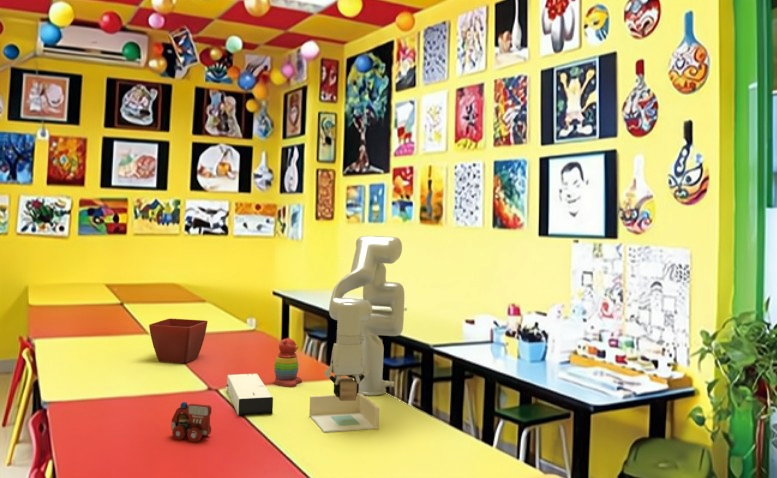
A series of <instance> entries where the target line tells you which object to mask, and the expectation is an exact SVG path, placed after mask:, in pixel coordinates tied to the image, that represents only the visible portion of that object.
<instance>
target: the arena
mask: <svg viewBox="0 0 777 478" xmlns="http://www.w3.org/2000/svg"><path fill="white" fill-rule="evenodd" d="M309 418H311V419H312V421H313V422H314V423H315V424H316V426H318V428H319V429H320V430H321V431H322V433H324V434H325V433H338V432H348V431H349V432H351V431H363V430H365V431H366V430H374V429H375V430H376V429H378V430H379V425H380V407H379V406H378V405H377V404H375V403H374V402H373V401H372V400H370V399H369V397H367V396H366V395H363V394H362V393H357V396H356V401H340V399H339V398H338V397H337V396H335V394H327V395H325V394H324V395H310V396H309Z"/></svg>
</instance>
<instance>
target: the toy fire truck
mask: <svg viewBox="0 0 777 478" xmlns="http://www.w3.org/2000/svg"><path fill="white" fill-rule="evenodd" d="M211 415H212V406H211V405H208V404H200V403H189V404H188V403H187V401H184V402H181V403H180V407H178V408H177V409H176V410H175V412H174V414H173V416H172V418H171V430H172V433H171V435H172V437H173V438H174V439H175V440H177V441H182V440H183V439H185V438H186V436H187V438H188V440H189V441H190V442H191V443H197V442H199V441H201V439H202V436H204V437H207V436H210V434H211V433H212V427H211Z"/></svg>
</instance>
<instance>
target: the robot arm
mask: <svg viewBox="0 0 777 478" xmlns="http://www.w3.org/2000/svg"><path fill="white" fill-rule="evenodd" d="M402 252H403V244H402V240H401V239H400V238H399V237H395V236H379V235H363V236H359V237H358V238H357V239H356V242H355V252H354V255H353V260H352V264H351V269H350V272H349V273H348V274H346V275H345V276H344V277H342V278H341V279H340V280H339V281H338V282H337V284H336V285H335V286H334V287H333V290H332V293H331V297H330V301H329V308H328V313H329V316H330V318H331V319H333V320H335V321H336V322H337V324H336V326H337V327H336V328H337V329H336V343H335V342H334V343H333V346H332V351H331V355H330V356H331V358H330V365H329V367H328V368H327V369H326V370H325V371H324V372H323V374H324V375H325V376H326V377H327V378H328V379H329V380H330V381H331V382H332V383H333V395H335V396H337V397H339V396H340V385H339V381H340V378H342V377H343V376H345V377H346V376H352V377H353V380H354V381H355V382H356V383H357V392H356V396H357V393H362V394H363V395H364V396H368V397H369V396H382V395H384V394H386V392H387V387H389V388H390V387H394V386H395V382H394V381H389V380H384V379H383V372H384V371H383V370H384V369H383V368H384V350H385V348H384V344H383V341H382V340H381V339H380V337H379V336H388V337H398V336H400V335H401V334H402V333H403V330H404V319H405V317H404V315H405V288H404V286H403V284H401V282H394V281H386V279H387V269H386V265H385V264H387V265H388V264H389V265H391V264H394V263H395V262H397V261H398V260H399V259H400V257H401V255H402ZM359 288H362V298H360V299H358V298H351V297H350V298H346V297H344V296H345V295H346V294H347V293H349V292H351V291H354V290H356V289H359ZM373 307H385V308H386V307H387V308H390V309H391V310H385V309H384V310H383V309H373ZM331 373H333V375H334V376H333V375H332V374H331Z"/></svg>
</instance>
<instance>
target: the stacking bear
mask: <svg viewBox="0 0 777 478" xmlns="http://www.w3.org/2000/svg"><path fill="white" fill-rule="evenodd" d="M298 348H299V345H298V344H297V343H296V342H295V341H294V339H292V338H290V337H286V338H283V339H281V340H280V341H279V344H278V350H279V353H278V354H277V355H276V358H275V362H274V367H273V368H274V374H275V379H274V384H275V385H277V386H279V387H287V388H294V387H295V388H296V387H297V384H301V383H303V379H302V378H301V377H299V376H298V372H299V362H298V361H299V359H298V356H297V353H296V352H297V351H298Z"/></svg>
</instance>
